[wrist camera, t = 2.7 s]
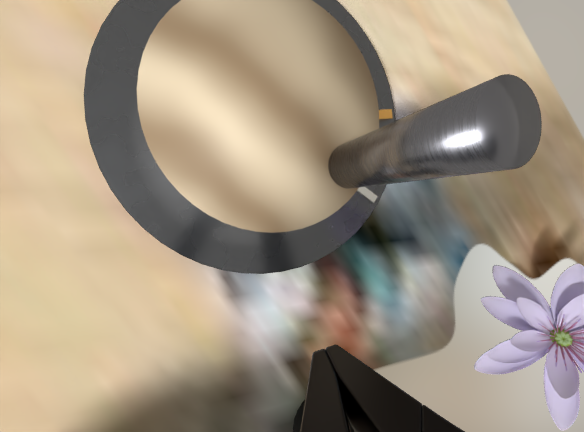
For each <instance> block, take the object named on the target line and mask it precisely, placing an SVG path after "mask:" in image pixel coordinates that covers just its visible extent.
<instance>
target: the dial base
mask: <svg viewBox="0 0 584 432" xmlns="http://www.w3.org/2000/svg"><path fill="white" fill-rule="evenodd" d="M179 1H181V0H119V1H118V3H117V4H116V5H115V6H114V7H113V9H112V10H111V12H110V13H109V15H108V16H107V18H106V19H105V21H104V22H103V24H102V26H101V28H100V30H99V32H98V35H97V37H96V39H95V41H94V44H93V46H92V49H91V53H90V57H89V61H88V65H87V69H86V77H85V88H84V105H85V120H86V125H87V129H88V134H89V139H90V143H91V147H92V149H93V152H94V155H95V157H96V160H97V163H98V165H99V168H100V170H101V172H102V174H103V176H104V177H105V179H106V181H107V183H108V185H109V187H110V189H111V190H112V192H113V193H114V194H115V196H116V197H117V199H118V200H119V201H120V203H121V204H122V205H123V207H124V208H125V210H126V211H127V212H128V213H129V214H130V215H131V216H132V217H133V218H134V219H135V220H136V221H137V222H138V223H139V224H140V225H141V226H142V228H144V229H145V230H146V231H147V232H149V233H150V234H151V235H152V236H154V237H155V238H156V239H157V240H159V241H160V242H161V243H162V244H164V245H166V246H167V247H169V248H171V249H172V250H174V251H176V252H177V253H179V254H181V255H183V256H185V257H187V258H189V259H192V260H194V261H196V262H198V263H201V264H204V265H207V266H210V267H214V268H217V269H221V270H226V271H232V272H238V273H257V274H264V273H273V272H282V271H286V270H290V269H294V268H298V267H302V266H304V265H307V264H309V263H312V262H314V261H317V260H319V259H320V258H322V257H324V256H326V255H328V254H329V253H331V252H333V251H334V250H336V249H337V248H338V247H340V246H341V245H342V244H344V243H345V242H346V241H347V240H348V239H350V238H351V237H352V236H353V235H354V234H355V233H356V232H357V231H358V230H359V229H360V227H361V226H362V225H363V224H364V222H365V221H366V220H367V219H368V217H369V216H370V215H371V213H372V211H373V210H374V208H375V206H376V205H377V203H378V201H379V199H380V197H381V195H382V193H383V191H384V189H385V186H386V184H384V185H376V186H368V187H359V188H358V190H357V191H356V192H355V194H354V195H353V196H352V197H351V198H350V200H349V201H348V202H347V203H345V204H344V205H343V206H342V207H341V208H340V209H339V210H338V211H336V212H335V213H333V214H332V215H330V216H329V217H328V218H326V219H324V220H322V221H320V222H318V223H316V224H314V225H311V226H308V227H305V228H302V229H298V230H293V231H288V232H275V233H268V232H255V231H250V230H245V229H241V228H237V227H235V226H232V225H229V224H226V223H223V222H221V221H219V220H217V219H215V218H213V217H211V216H209V215H208V214H206V213H205V212H203V211H202V210H200V209H199V208H197V207H196V206H194V205H193V204H192V203H191V202H190V201H188V200H187V199H186V198H185V197H184V196H183V195H182V194H180V193H179V192H178V190H177V189H176V188H175V187H174V186H173V185H172V184H171V182H170V181H169V180H168V179H167V178H166V176H165V175H164V173H163V172H162V170H161V169H160V167H159V166H158V164H157V163H156V161H155V159H154V157H153V155H152V153H151V151H150V149H149V147H148V145H147V142H146V139H145V136H144V133H143V130H142V127H141V122H140V117H139V112H138V104H137V81H138V70H139V66H140V62H141V58H142V54H143V51H144V49H145V47H146V44H147V42H148V40H149V37H150V35H151V34H152V32H153V31H154V29H155V27H156V26H157V24H158V23H159V21H160V20H161V19H162V18H163V17H164V16H165V14H166V13H167V12H168V11H169V10H170V9H171V8H172V7H173V6H175V5H176V4H177V3H178V2H179ZM312 1H314V2H315V3H317V4H318V5H320V6H321V7H322V8H324V9H325V10H326V11H327V12H328V13H329V14H331V15H332V16H333V17H334V18H335V19H336V20H337V21H338V22H339V23H340V24H341V25H342V26H343V28H344V29H345V30H346V31H347V32H348V34H349V35H350V36H351V38H352V39H353V40H354V42H355V43H356V45H357V47H358V48H359V50H360V52H361V53H362V55H363V57H364V59H365V61H366V63H367V66H368V68H369V70H370V73H371V76H372V79H373V82H374V86H375V90H376V94H377V100H378V108H379V128H381V127H383V126H386V125H388V124H390V123H393V122H395V114H394V105H393V100H392V95H391V91H390V87H389V83H388V80H387V77H386V74H385V71H384V68H383V66H382V64H381V62H380V59H379V57H378V55H377V53H376V51H375V49H374V47H373V46H372V44H371V42H370V41H369V39H368V37H367V36H366V34H365V33H364V31H363V30H362V29H361V27H360V26H359V24H358V23H357V22H356V20H355V19H354V18H353V17H352V16H351V15H350V14H349V12H348V11H347V10H346V9H345V8H344V7H343V6H342V5H341V4H340V3H339V2H338V1H337V0H312Z"/></svg>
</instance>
